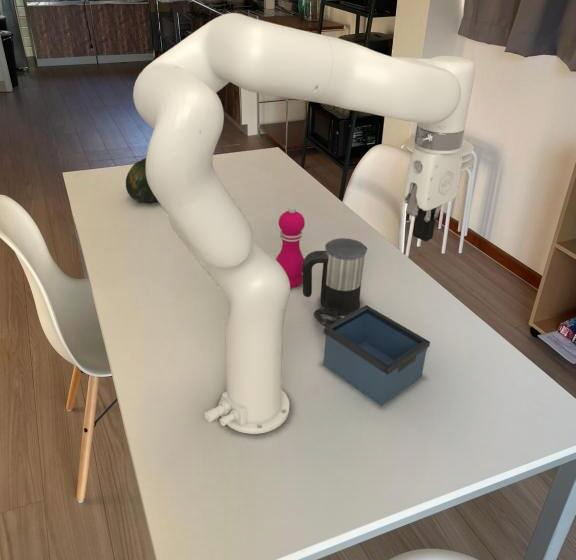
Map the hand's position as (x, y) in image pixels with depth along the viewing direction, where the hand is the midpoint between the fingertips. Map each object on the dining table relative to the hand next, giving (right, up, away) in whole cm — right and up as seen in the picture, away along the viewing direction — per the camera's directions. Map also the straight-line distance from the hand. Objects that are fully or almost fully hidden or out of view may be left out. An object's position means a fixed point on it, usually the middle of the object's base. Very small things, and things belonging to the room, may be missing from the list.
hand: (422, 237), depth 104 cm
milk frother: (-13, -15, +26) cm, 33 cm away
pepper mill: (-24, -8, +37) cm, 45 cm away
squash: (-66, +18, +76) cm, 102 cm away
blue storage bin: (-3, -20, +11) cm, 23 cm away
